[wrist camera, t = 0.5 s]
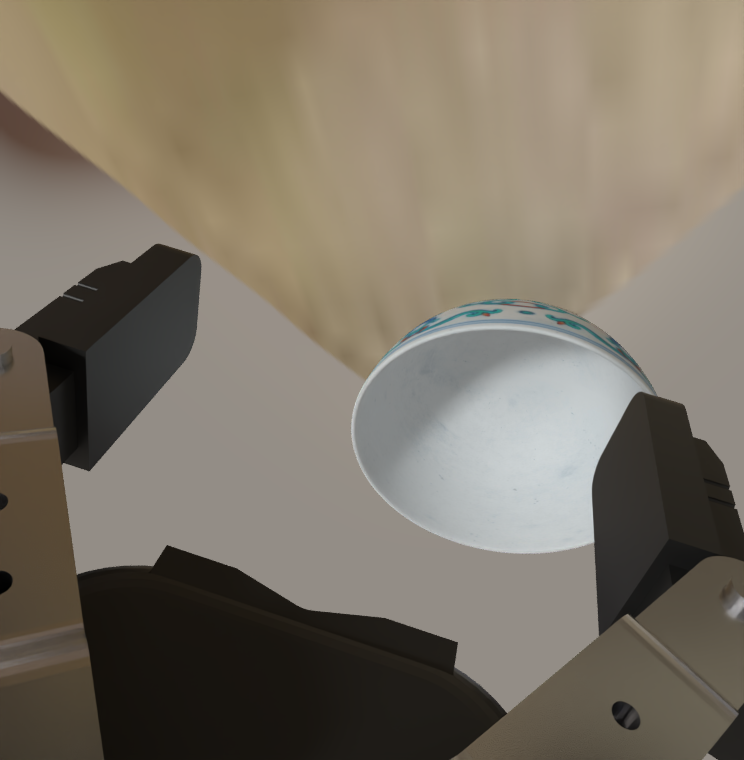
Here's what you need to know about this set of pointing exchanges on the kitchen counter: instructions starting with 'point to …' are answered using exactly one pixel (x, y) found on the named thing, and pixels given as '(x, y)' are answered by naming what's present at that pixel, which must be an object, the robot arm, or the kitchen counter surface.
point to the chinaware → (495, 424)
